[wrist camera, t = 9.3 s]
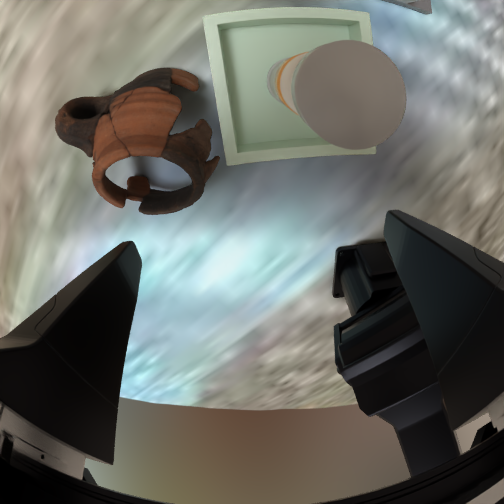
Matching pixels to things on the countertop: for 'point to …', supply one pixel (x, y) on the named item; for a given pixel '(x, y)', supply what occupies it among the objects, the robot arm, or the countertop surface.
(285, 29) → the tray
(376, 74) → the banded fuse
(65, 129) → the pottery mug
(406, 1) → the block
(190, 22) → the countertop surface
